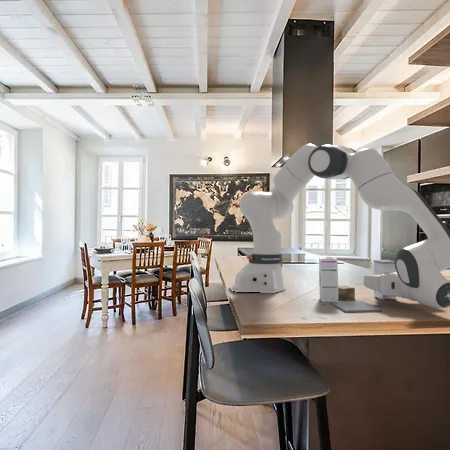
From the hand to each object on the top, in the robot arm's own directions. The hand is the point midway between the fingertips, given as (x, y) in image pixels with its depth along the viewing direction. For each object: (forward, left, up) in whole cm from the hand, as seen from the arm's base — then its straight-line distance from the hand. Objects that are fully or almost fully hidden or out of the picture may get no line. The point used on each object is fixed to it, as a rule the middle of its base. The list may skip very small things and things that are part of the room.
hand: (382, 277), depth 114 cm
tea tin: (0, -1, -7) cm, 7 cm away
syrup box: (-21, -2, -7) cm, 22 cm away
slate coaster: (-17, -12, -7) cm, 22 cm away
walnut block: (-14, +1, -7) cm, 16 cm away
